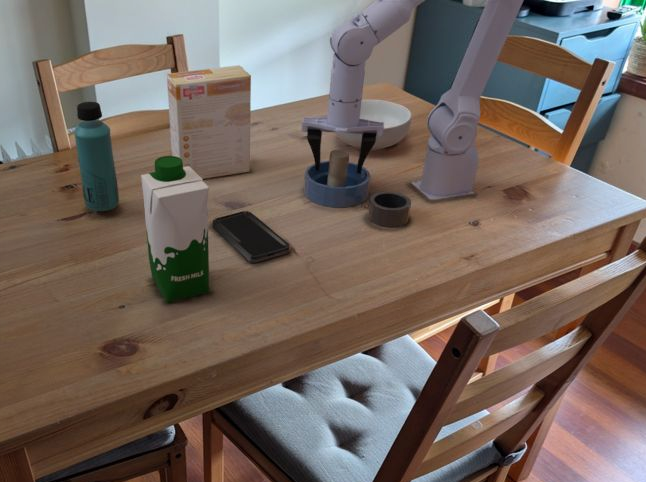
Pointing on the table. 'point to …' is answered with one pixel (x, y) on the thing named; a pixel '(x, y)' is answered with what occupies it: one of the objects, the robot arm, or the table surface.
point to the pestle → (338, 168)
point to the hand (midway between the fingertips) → (338, 170)
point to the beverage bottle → (96, 159)
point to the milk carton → (177, 229)
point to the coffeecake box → (211, 119)
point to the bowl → (336, 196)
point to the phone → (250, 236)
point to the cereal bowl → (382, 111)
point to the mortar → (389, 209)
